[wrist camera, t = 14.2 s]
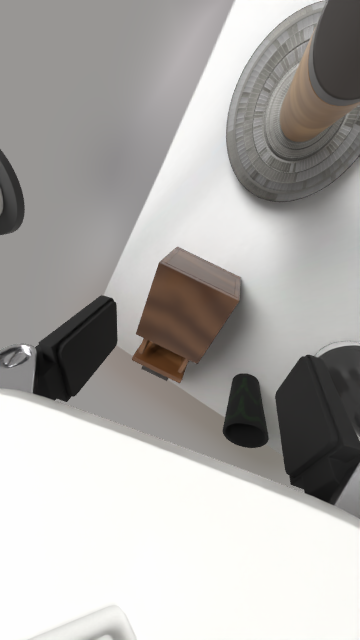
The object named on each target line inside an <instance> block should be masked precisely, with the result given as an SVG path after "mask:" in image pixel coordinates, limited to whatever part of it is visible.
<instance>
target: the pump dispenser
mask: <svg viewBox="0 0 360 640" xmlns="http://www.w3.org/2000/svg"><path fill="white" fill-rule="evenodd" d="M315 357H318V358H321V359H323V361H324V363H325V365H326V367H327V369H328V372H329V374H330V376H331V378H332V381H333V383H334V385H335V387H336V390H337V392H338V394H339V396H340V399H341V401H342V403H343V405H344V408H345V410H346V412H347V414H348V417H349V419H350V421H351V423H352V426H353V428H354V430H355V432H356V434H357V435H358V436H360V343H357V342H351V341H341V342H335V343H332V344H329V345H327V346H325V347H324V348H322V349H321V350H320V351H319V352H318V353H317V355H316V356H315Z"/></svg>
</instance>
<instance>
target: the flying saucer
mask: <svg viewBox="0 0 360 640" xmlns="http://www.w3.org/2000/svg"><path fill="white" fill-rule="evenodd" d="M326 1H327V0H325V1H320V2H317V3H314V4H311V5H309V6H307V7H304V8H302V9H301V10H299V11H297V12H295V13H294V14H292V15H291V16H289V17H288V18H287V19H285V20H284V21H283V22H281V23H280V24H279V25H278V26H277V27H276V28H275V29H274V30H273V31H272V32H271V33H270V34H269V35H268V36H267V37H266V38H265V39H264V40H263V41H262V43H261V44H260V45H259V46H258V48H257V49H256V51H255V52H254V53H253V55H252V56H251V58H250V60H249V61H248V63H247V65H246V66H245V68H244V70H243V72H242V74H241V76H240V78H239V80H238V83H237V85H236V88H235V91H234V93H233V97H232V100H231V104H230V108H229V112H228V118H227V128H226V142H227V151H228V156H229V160H230V163H231V166H232V169H233V171H234V173H235V175H236V177H237V178H238V180H239V181H240V183H241V184H242V185H243V186H244V187H245V188H246V189H247V190H248V191H249V192H251V193H252V194H254V195H255V196H257V197H259V198H262V199H265V200H269V201H275V202H287V201H294V200H298V199H302V198H305V197H307V196H310V195H312V194H314V193H316V192H318V191H320V190H322V189H323V188H325V187H326V186H328V185H329V184H331V183H332V182H334V181H335V180H336V179H337V178H338V177H340V176H341V175H342V174H343V173H344V172H345V171H346V170H347V169H348V168H349V167H350V166H351V165H352V164H353V163H354V162H355V160H356V159H357V158H358V157H359V155H360V105H359V106H357V107H356V108H354V109H353V110H352V111H350V112H349V113H347V114H346V115H345V116H343V117H342V118H341V119H339V120H338V121H336V122H335V123H334V124H332V125H331V126H329V127H328V128H327V129H325V130H324V131H322V132H321V133H320V134H318V135H317V136H315V137H314V138H312V139H310V140H307V141H304V142H295V141H292V140H290V139H288V138H287V137H286V136H285V135H284V133H283V131H282V129H281V125H280V111H281V107H282V104H283V101H284V98H285V96H286V94H287V91H288V89H289V87H290V85H291V82H292V80H293V78H294V75H295V73H296V71H297V68H298V66H299V64H300V61H301V59H302V57H303V54H304V52H305V50H306V47H307V45H308V43H309V40H310V38H311V36H312V34H313V31H314V29H315V27H316V24H317V22H318V20H319V17H320V15H321V13H322V10H323V8H324V6H325V3H326Z"/></svg>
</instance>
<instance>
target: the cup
mask: <svg viewBox="0 0 360 640" xmlns="http://www.w3.org/2000/svg"><path fill="white" fill-rule="evenodd" d="M223 434H224V436H225V437H226V438H227V439H228V440H229V441H231V442H232V443H234V444H236V445H239V446H242V447H248V448H256V447H261V446H263V445H265V444H266V443H267V442H268V440H269V438H268V431H267V426H266V421H265V415H264V410H263V404H262V399H261V393H260V388H259V382H258V380H257V379H256V378H255V377H254V376H252V375H249V374H239V375H236V376H235V377H234V378H233V381H232V386H231V391H230V396H229V401H228V406H227V411H226V416H225V422H224V427H223Z"/></svg>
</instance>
